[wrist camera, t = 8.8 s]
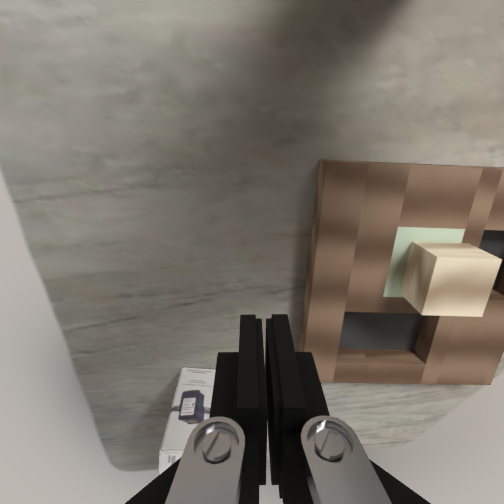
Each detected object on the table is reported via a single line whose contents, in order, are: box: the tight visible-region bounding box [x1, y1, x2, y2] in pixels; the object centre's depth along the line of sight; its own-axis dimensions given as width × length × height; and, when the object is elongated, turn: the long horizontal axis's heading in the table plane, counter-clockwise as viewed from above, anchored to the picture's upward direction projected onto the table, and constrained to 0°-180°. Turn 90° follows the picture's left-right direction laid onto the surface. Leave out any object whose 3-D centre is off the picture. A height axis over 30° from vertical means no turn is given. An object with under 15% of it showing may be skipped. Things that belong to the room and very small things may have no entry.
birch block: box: [400, 241, 502, 317], centre depth 31 cm, size 6×6×4 cm
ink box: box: [159, 367, 216, 475], centre depth 37 cm, size 8×5×12 cm, turn 174°
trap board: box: [298, 160, 504, 385], centre depth 35 cm, size 26×24×3 cm
